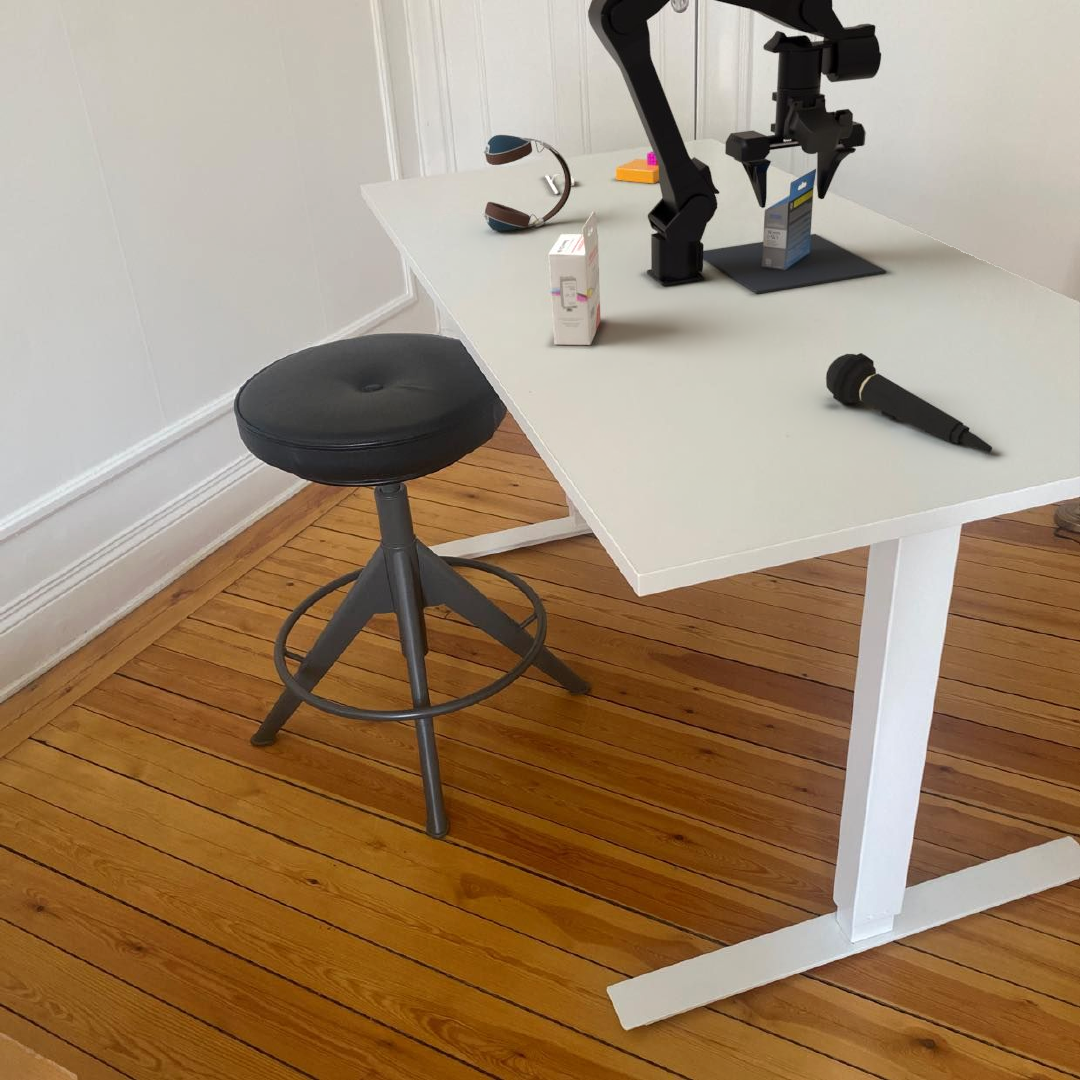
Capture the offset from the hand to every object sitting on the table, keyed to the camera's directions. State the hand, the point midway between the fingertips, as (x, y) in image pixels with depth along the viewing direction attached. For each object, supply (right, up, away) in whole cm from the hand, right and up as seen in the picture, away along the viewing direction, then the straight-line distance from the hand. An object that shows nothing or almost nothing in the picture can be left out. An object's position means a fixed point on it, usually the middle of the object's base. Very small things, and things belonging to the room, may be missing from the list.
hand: (791, 202), depth 158 cm
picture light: (-32, +19, +51) cm, 63 cm away
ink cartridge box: (-31, -21, -15) cm, 40 cm away
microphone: (+2, -36, -42) cm, 55 cm away
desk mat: (0, -7, +5) cm, 9 cm away
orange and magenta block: (-16, +21, +53) cm, 59 cm away
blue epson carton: (0, -7, +4) cm, 9 cm away
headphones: (-41, +4, +28) cm, 49 cm away
